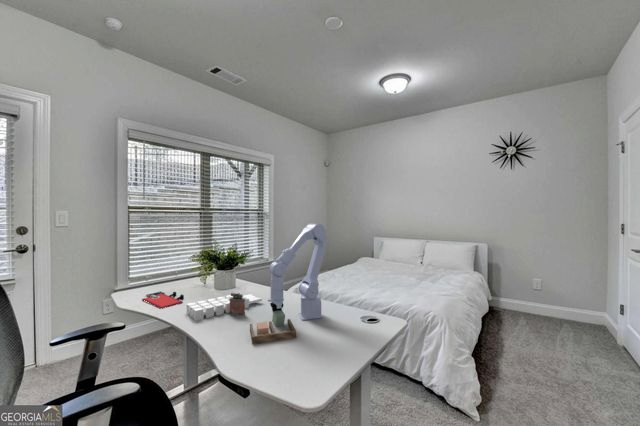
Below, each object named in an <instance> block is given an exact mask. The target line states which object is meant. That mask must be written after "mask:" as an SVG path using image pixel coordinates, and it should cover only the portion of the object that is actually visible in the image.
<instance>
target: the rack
mask: <svg viewBox="0 0 640 426" xmlns="http://www.w3.org/2000/svg"><path fill="white" fill-rule="evenodd" d="M286 323H287V327H288V329H289V330H288V331H287V330H283V331H279V332H277V331H276V330H275V326H274V324H273V322H272V320H271V321H268V328H269V333H266V334H264V335H263V334H259V335H257V334H256V335H255V330H254V326H253V323H249V334H250V339H251V344H252V345H254V344H262V343H268V342H276V341H283V340H290V339H291V340H292V339H296V338H297V336H298V335H297V330H296V328H295V325H294V324H293V322H292V321H291V319H290V318H288V319H287V321H286Z"/></svg>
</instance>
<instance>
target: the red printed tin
mask: <svg viewBox="0 0 640 426" xmlns="http://www.w3.org/2000/svg"><path fill="white" fill-rule="evenodd" d="M230 295H231V296H233V297H231V298H229V300H230V312H229V313H228V314H229V315H230V316H231V315H233V316H244V315H246V312H245V311H246V308H245V298H242V297H243V296H244V295H243V294H242V293H240V292H238V293H235V292H231V293H230Z"/></svg>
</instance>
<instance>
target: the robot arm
mask: <svg viewBox="0 0 640 426" xmlns="http://www.w3.org/2000/svg"><path fill="white" fill-rule="evenodd" d="M327 232H328V231H327V229H326V228H325V225H323V224H322V223H312V222H310V223H308V224H307V225H306V226H305V227H304V228H303V229H302V231H301V233H300V234H299V235H298V236H297V238H296V239H295V241H294V242H293V243H292V245H291V246H290V247H288V248H285V249H282V251H281V252H282V253H281V254H280V255H279V257H277V258H276V259H275V261H273V262H272V263H270V265H269V267H268V269H269V270H268V271H269V272H270V296H269V297H270V298H267V302H270V303H269V305H270V307H271V310H272V313H273V312H274V311H279V310H280V311H281V310H282V311H283V308H284V301H285V297H284V280H285V279H284V278H285V277H284V274H286V272H287V268H288V267H289V265H290V264H291V263H292V262H293V260H295V258H296V255H297V254H296V253H297V252H298V250H300V248H301V247H303V245H304V244H305V243H306V242H307V241H310V240H312V241H313V243H314V248H313V252H312V255H311V259H310V262H309V266H308V269H307V272H306V275H305V277H303V278H302V280H301V281H302V282H301V283H300V284H299V285H298V286H299V287H298V291H299V293H300V312H299V313H298V316H299V317H300V319H301V320H303V321H305V320H307V321H308V320H313V319H321V318H323V316H322V299H321V297H320V296H318V295H319V285H320V284H319V280H318V278H319V275H320V274H319V273H320V271H321V267H322V263H323V260H324V256H325V252H326V248H327V245H328V239H327Z"/></svg>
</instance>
